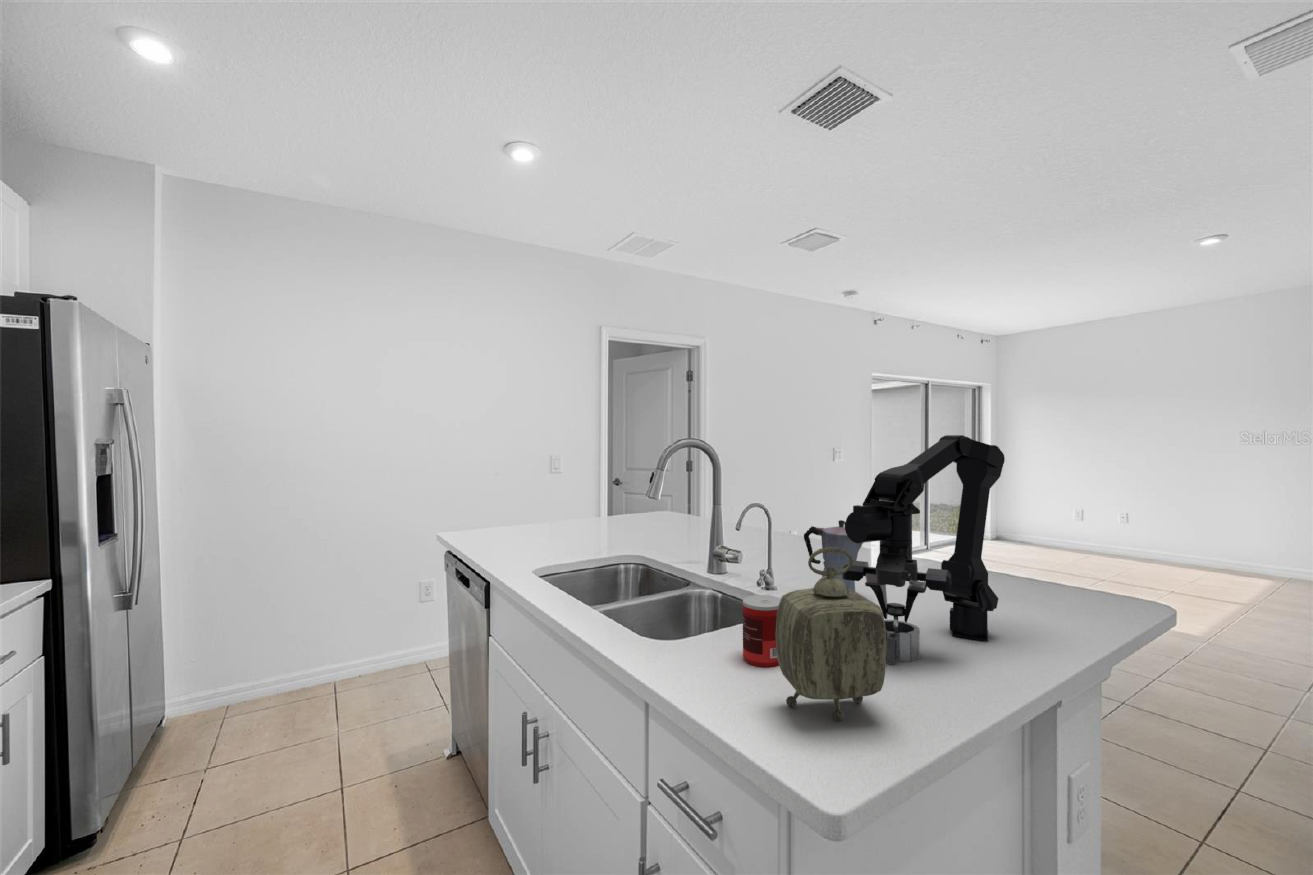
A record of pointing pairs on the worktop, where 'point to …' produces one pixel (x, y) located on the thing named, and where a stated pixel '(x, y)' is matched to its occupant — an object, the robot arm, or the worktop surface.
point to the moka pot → (838, 540)
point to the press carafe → (902, 642)
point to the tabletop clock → (831, 640)
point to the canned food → (760, 630)
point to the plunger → (895, 613)
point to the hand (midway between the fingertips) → (895, 620)
